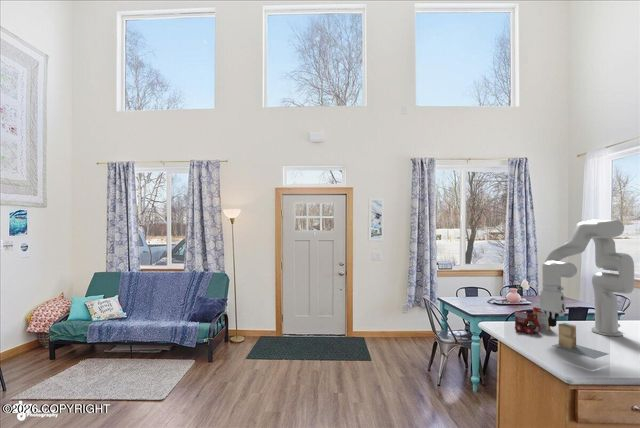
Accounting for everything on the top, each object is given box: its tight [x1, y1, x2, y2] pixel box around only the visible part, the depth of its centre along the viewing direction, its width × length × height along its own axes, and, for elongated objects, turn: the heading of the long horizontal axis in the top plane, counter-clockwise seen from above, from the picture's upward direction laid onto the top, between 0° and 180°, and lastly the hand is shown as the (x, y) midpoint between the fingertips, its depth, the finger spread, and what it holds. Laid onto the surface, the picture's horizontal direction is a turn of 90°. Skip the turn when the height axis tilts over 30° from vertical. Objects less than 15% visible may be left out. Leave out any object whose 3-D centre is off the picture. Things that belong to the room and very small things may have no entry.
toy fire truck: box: [514, 310, 541, 335], centre depth 191 cm, size 7×12×10 cm, turn 37°
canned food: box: [532, 304, 551, 332], centre depth 197 cm, size 8×8×12 cm
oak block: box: [557, 322, 577, 349], centre depth 169 cm, size 5×5×10 cm
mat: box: [551, 343, 609, 359], centre depth 164 cm, size 12×18×1 cm, turn 27°
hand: (552, 326), depth 175 cm, fingers closed
